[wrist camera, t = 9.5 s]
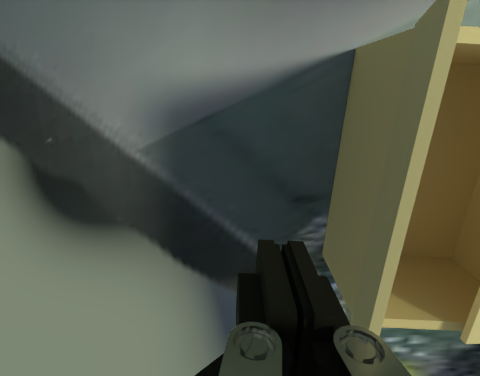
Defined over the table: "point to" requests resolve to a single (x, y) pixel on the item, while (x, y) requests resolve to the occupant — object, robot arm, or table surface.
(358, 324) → the front flap
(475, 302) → the back flap
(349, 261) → the cardboard box
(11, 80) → the table surface
